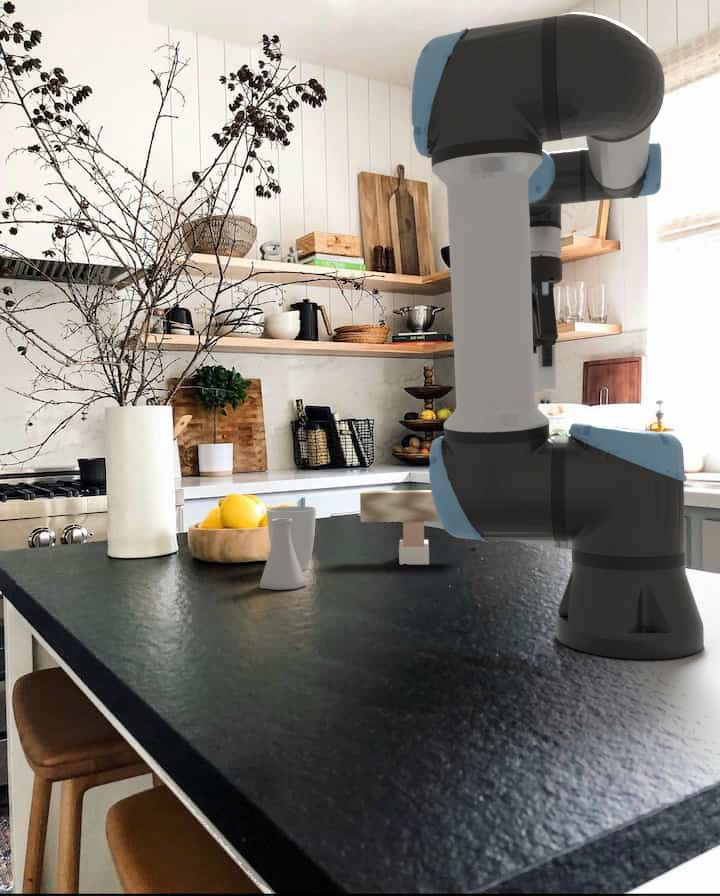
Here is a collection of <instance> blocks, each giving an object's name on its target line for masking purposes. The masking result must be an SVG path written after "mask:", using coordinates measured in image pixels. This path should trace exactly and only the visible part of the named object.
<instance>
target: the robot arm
mask: <svg viewBox="0 0 720 896" xmlns="http://www.w3.org/2000/svg"><path fill="white" fill-rule="evenodd" d="M413 75H414V76H413V83H412V89H411V91H412V92H411V124H412V126H413V132H412V134H413V135H412V136H413V141H414V145H415V149H416V150H417V152H418V153H419V154H420V156H423V157H425V158H427V159H430V158H431V172H432V173H433V174H434V175H435V176H436V177H437V179H439V180H440V181H441V182H442V183H443V184H444V185H445V187H446V194H447V195H446V197H447V200H446V202H447V216H448V217H447V219H448V221H447V222H448V223H447V224H448V241H449V242H448V243H449V263H450V266H449V267H450V287H451V288H450V291H451V310H452V311H451V313H452V335H453V336H452V337H453V353H454V354H453V355H454V356H453V357H454V358H453V359H454V381H455V403H456V405H455V410H454V411H453V412H452V413H451V414H450V415H449V417H448V418H447V419H446V420H445V421H444V422H443V435H441V436H439V437H437V438H435V439H433V441H432V443H431V445H430V448H429V455H428V457H429V467H428V468H429V469H428V475H429V476H428V477H429V484H430V485H429V486H430V490H431V492H432V497H433V502H434V506H435V509H436V512H437V515H438V518H439V520H440V521H439V522H440V524H441V525H442V527H443V529H444V530H445V531H446V532H447V533H448V534H449V535H451V536H452V537H455V538H458V539H465V540H466V539H468V540H480V541H482V542H487V543H489V542H491V541H506V542H507V541H511V542H513V541H515V542H516V541H517V542H554V543H555V542H561V543H564V542H565V543H570V544H571V568H570V573H569V576H568V578H567V582H566V585H565V589H564V591H563V594H562V598H561V601H560V603H559V604H560V605H559V606H558V610H557V614H556V616H555V637H556V639H557V641H559V643H560V644H563V645H564V646H567V647H569V648H571V649H574V650H577V651H580V652H584V653H587V654H588V653H589V654H592V655H596V656H597V655H598V656H603V657H608V658H609V657H611V658H619V659H620V658H621V659H629V660H630V659H631V660H632V659H634V660H663V659H675V658H681V657H687V656H690V655H694V654H696V653H698V652H701V650H702V649H703V648H704V644H705V643H704V639H705V638H704V637H705V636H704V635H705V634H704V623H703V620H702V618H701V614H700V611H699V608H698V606H697V603H696V600H695V597H694V593H693V591H692V588H691V584H690V582H689V580H688V579H689V578H688V576H687V573H686V572H687V571H686V532H685V531H686V530H685V527H686V526H685V522H686V520H685V482H687V479H688V477H687V475H685V474H686V473H685V462H684V461H685V460H684V459H685V458H684V448H683V444H682V443H681V441H680V440H679V438H677V437H676V436H675V435H672V434H671V433H668V432H663V431H662V432H659V431H655V430H654V431H652V430H643V429H637V428H627V427H619V426H609V425H600V424H590V423H589V424H588V423H579V422H575V423H572V424H571V425H570V427H569V430H568V435H564V436H563V435H562V436H557V435H556V436H555V435H550V419H549V418H548V416H546V415H545V414H544V413H543V412H542V411H541V410H540V409H539V408H538V406H536V403H535V393H537V392H538V393H539V392H540V393H542V392H543V390H548V389H549V390H551V389H553V390H554V389H555V390H556V388H557V387H556V386H557V385H556V384H557V383H556V376H557V375H556V372H557V371H556V343H557V340H558V338H559V334H558V326H557V316H556V307H555V297H554V295H555V293H554V288H555V285H556V284H559V283H560V282H561V281H562V280H563V260H562V259H561V258H560V257H561V255H562V254H563V251H562V249H563V247H562V245H563V244H564V243H566V237H564V236H561V235H562V229H563V228H562V205H568V204H569V205H570V204H579V203H587V202H596V201H607V200H608V201H609V200H619V199H629V198H630V199H637V198H639V197H646V196H652V195H655V194H657V193H658V192H659V191H660V190H661V187H662V147H661V144H660V142H659V141H657V140H651V139H650V138H651V127H652V124H653V123H654V122H655V121H656V119H657V117H658V115H659V113H660V111H661V109H662V105H663V102H664V97H665V89H666V88H665V83H666V82H665V73H664V70H663V65H662V63H661V61H660V59H659V56H658V55H657V53H656V52H655V50H654V49H653V47H652V46H651V45H650V44H649V43H648V42H647V41H646V40H645V39H644V38H643V37H642V36H641V35H639V34H638V33H637V32H635V31H634V30H632V29H631V28H629V27H628V26H626V25H625V24H623V23H620V22H619V21H617V20H613V19H612V18H608V17H606V16H602V15H600V14H599V15H598V14H593V13H589V12H573V11H570V12H566V13H560V14H557V15H553V16H547V17H540V18H532V19H527V20H526V19H525V20H521V21H513V22H507V23H501V24H500V23H499V24H494V25H486V26H482V27H480V26H479V27H474V28H470V27H468V28H463V29H462V30H460V31H458V32H454V33H448V34H445V35H444V34H443V35H440V36H436V37H433V38H432V39H430V40H429V41H428V42H427V43H425V45H424V46H423V48H422V50H421V52H420V53H419V57H418V59H417V61H416V65H415V70H414V74H413ZM581 137H585V140H586V145H587V147H585V148H577V149H569V150H568V149H567V150H558V151H551V152H547V151H545V150H544V149H543V145H544V143H547V142H548V143H549V142H556V141H563V140H567V139H568V140H569V139H575V138H581Z"/></svg>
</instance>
